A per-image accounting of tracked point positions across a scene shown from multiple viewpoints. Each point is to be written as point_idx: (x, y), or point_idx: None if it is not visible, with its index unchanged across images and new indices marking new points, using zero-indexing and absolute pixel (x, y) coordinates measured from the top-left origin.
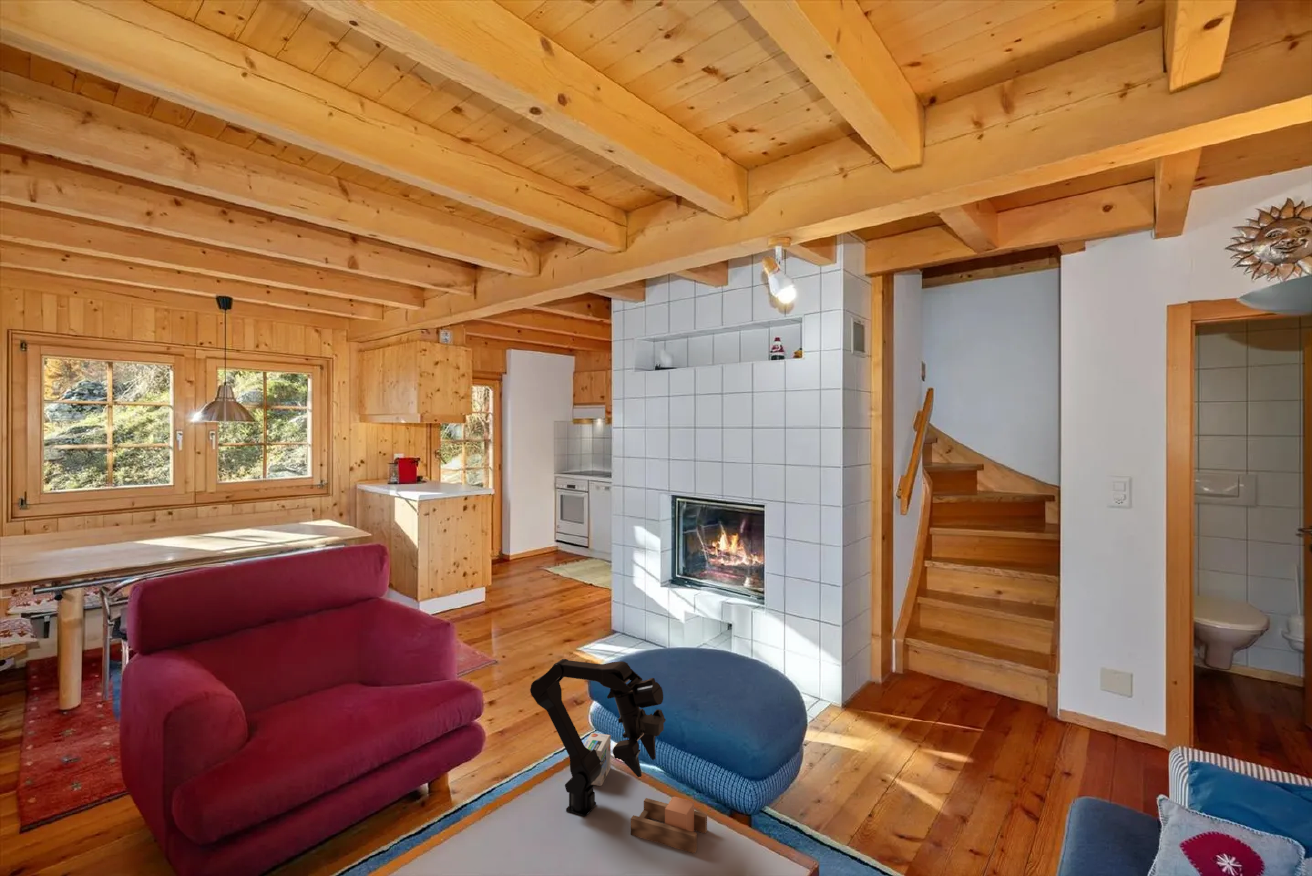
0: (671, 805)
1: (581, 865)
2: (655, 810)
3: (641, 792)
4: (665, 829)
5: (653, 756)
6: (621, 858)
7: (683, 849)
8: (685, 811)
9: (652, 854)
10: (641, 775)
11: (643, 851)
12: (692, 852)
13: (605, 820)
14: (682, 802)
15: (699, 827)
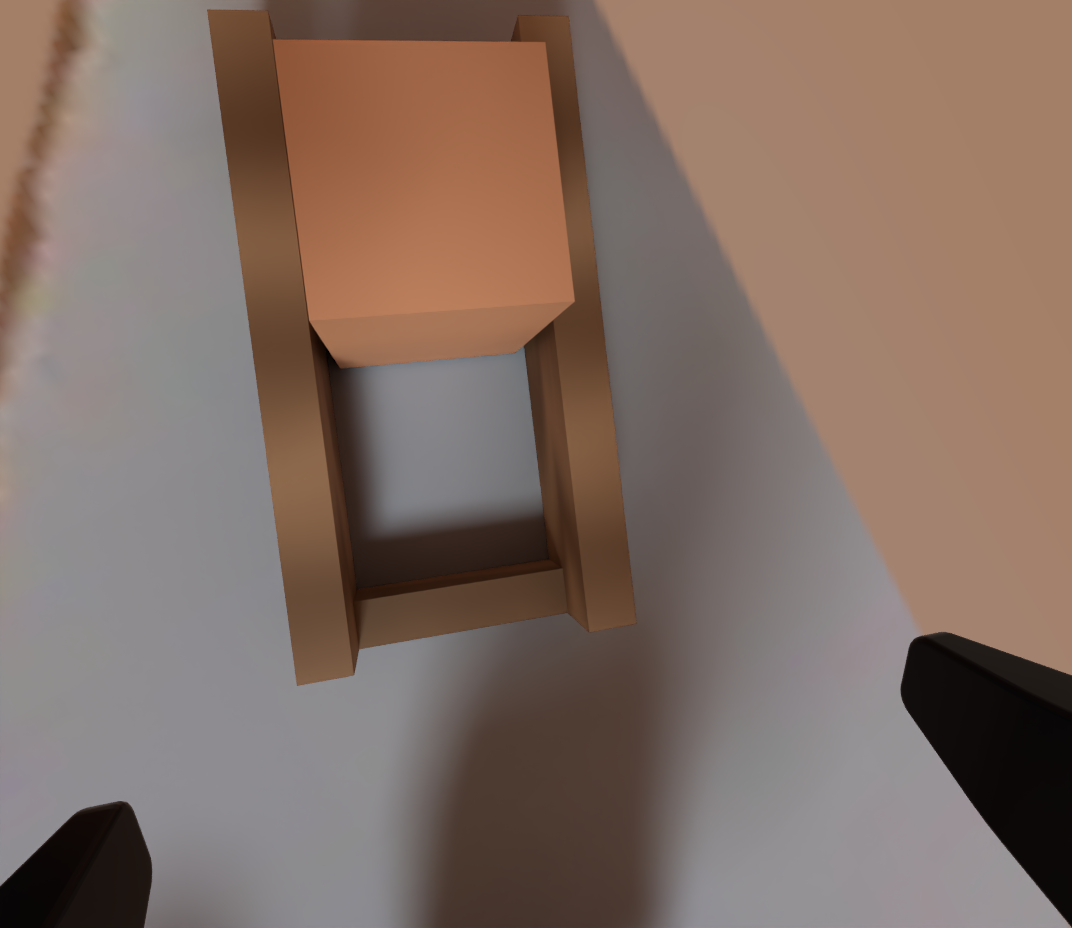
0: (483, 262)
1: None
2: (341, 540)
3: None
4: (597, 295)
5: (98, 894)
6: (797, 517)
7: None
8: (503, 68)
9: (675, 362)
10: (941, 638)
11: (680, 429)
12: None
13: (546, 850)
14: (364, 167)
15: None
